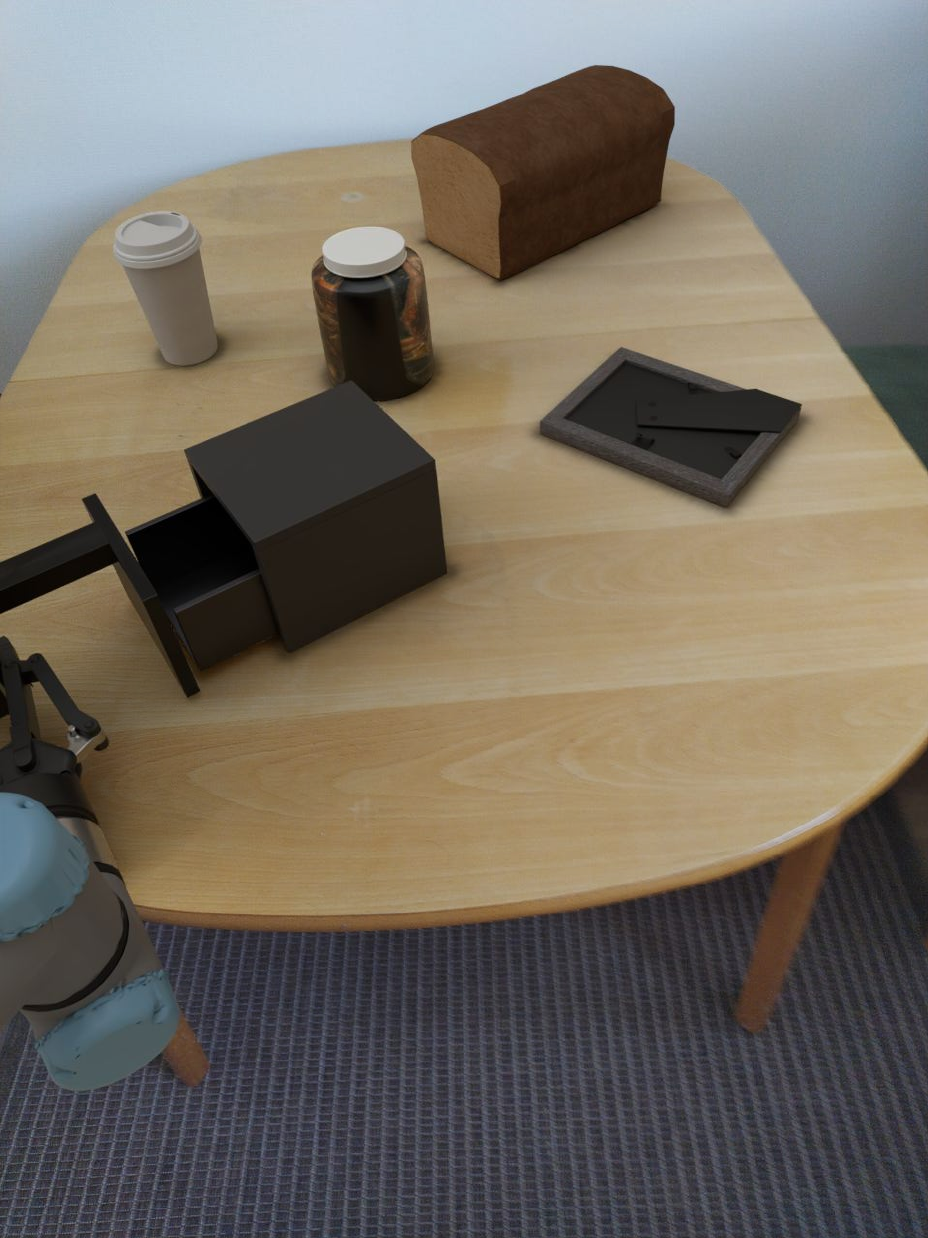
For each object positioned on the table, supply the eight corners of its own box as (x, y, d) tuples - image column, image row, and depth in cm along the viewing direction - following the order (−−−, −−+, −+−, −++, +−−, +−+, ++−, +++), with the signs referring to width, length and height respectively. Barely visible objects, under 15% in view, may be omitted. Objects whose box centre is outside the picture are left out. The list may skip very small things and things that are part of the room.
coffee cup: (244, 353, 111) (211, 229, 100) (168, 383, 108) (125, 259, 97) (211, 319, 117) (176, 198, 106) (138, 347, 114) (94, 225, 102)
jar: (351, 414, 102) (328, 285, 91) (315, 361, 109) (290, 236, 98) (450, 382, 105) (439, 253, 94) (409, 332, 112) (394, 207, 101)
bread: (669, 206, 129) (682, 78, 117) (504, 288, 118) (500, 154, 106) (577, 168, 139) (580, 46, 127) (416, 239, 127) (403, 112, 115)
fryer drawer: (13, 787, 72) (-71, 680, 62) (-32, 670, 80) (-112, 559, 70) (358, 611, 82) (333, 495, 72) (287, 523, 90) (255, 408, 80)
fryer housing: (288, 654, 80) (254, 543, 70) (222, 560, 88) (183, 449, 78) (447, 573, 85) (435, 459, 75) (371, 491, 93) (351, 379, 84)
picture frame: (798, 420, 97) (619, 358, 106) (802, 403, 95) (621, 343, 104) (726, 508, 89) (539, 433, 98) (729, 491, 87) (539, 417, 96)
